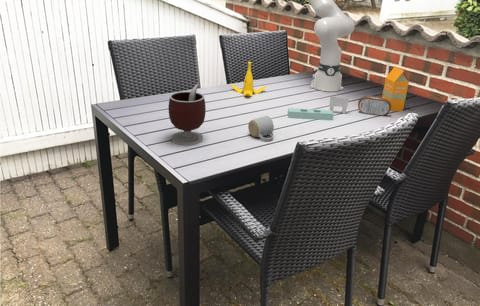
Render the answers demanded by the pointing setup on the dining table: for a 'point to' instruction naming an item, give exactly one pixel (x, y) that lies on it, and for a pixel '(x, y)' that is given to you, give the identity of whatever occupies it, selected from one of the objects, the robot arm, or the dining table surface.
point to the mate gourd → (187, 116)
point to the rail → (310, 114)
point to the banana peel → (248, 84)
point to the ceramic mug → (261, 127)
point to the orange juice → (396, 89)
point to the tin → (374, 105)
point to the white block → (339, 103)
